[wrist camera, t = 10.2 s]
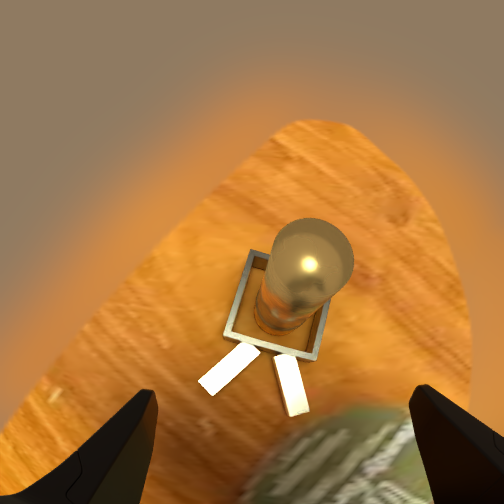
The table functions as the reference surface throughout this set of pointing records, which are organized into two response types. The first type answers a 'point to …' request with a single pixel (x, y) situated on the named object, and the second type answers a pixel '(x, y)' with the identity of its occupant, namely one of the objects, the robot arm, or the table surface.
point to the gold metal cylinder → (302, 274)
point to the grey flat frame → (248, 350)
